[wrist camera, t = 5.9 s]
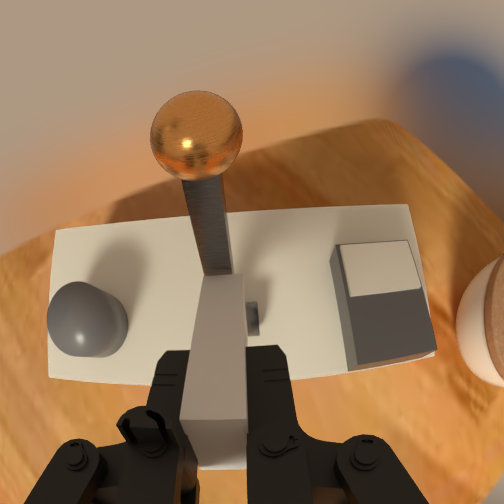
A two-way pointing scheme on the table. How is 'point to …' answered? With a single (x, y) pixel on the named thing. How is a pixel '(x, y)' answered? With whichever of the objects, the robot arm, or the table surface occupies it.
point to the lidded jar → (483, 324)
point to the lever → (203, 172)
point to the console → (245, 262)
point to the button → (86, 321)
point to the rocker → (380, 304)
